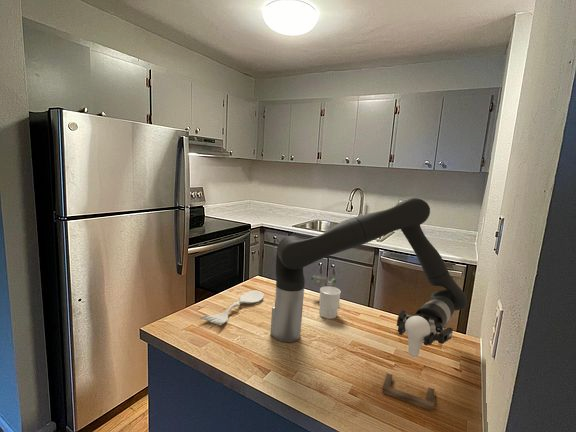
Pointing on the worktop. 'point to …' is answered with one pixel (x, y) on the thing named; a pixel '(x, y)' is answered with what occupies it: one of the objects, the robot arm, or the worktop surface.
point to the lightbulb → (416, 333)
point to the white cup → (329, 302)
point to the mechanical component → (322, 281)
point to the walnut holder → (409, 395)
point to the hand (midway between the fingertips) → (412, 336)
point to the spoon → (245, 298)
